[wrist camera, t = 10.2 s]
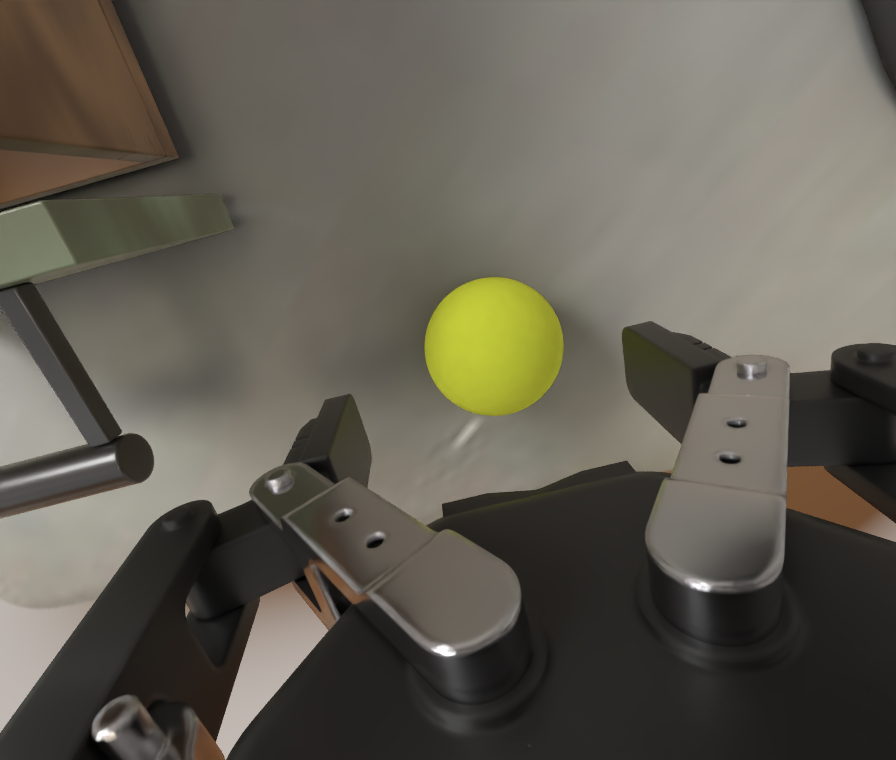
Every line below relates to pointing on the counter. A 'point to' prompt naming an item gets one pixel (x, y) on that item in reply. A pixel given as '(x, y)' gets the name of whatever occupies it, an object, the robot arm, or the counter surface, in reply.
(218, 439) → the counter surface
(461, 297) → the ball
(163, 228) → the drawer
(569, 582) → the robot arm
